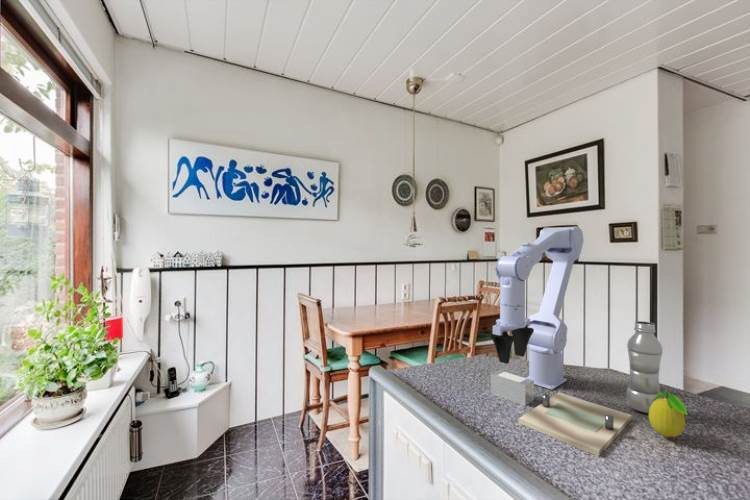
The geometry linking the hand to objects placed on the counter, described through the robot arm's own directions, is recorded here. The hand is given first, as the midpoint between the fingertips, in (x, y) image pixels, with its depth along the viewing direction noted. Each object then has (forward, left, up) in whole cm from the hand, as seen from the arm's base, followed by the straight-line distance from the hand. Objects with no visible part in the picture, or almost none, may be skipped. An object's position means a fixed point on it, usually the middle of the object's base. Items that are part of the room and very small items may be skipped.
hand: (512, 359), depth 86 cm
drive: (0, 0, -10) cm, 10 cm away
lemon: (-6, +29, -10) cm, 31 cm away
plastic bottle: (-16, +23, -10) cm, 30 cm away
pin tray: (+1, +15, -9) cm, 18 cm away
